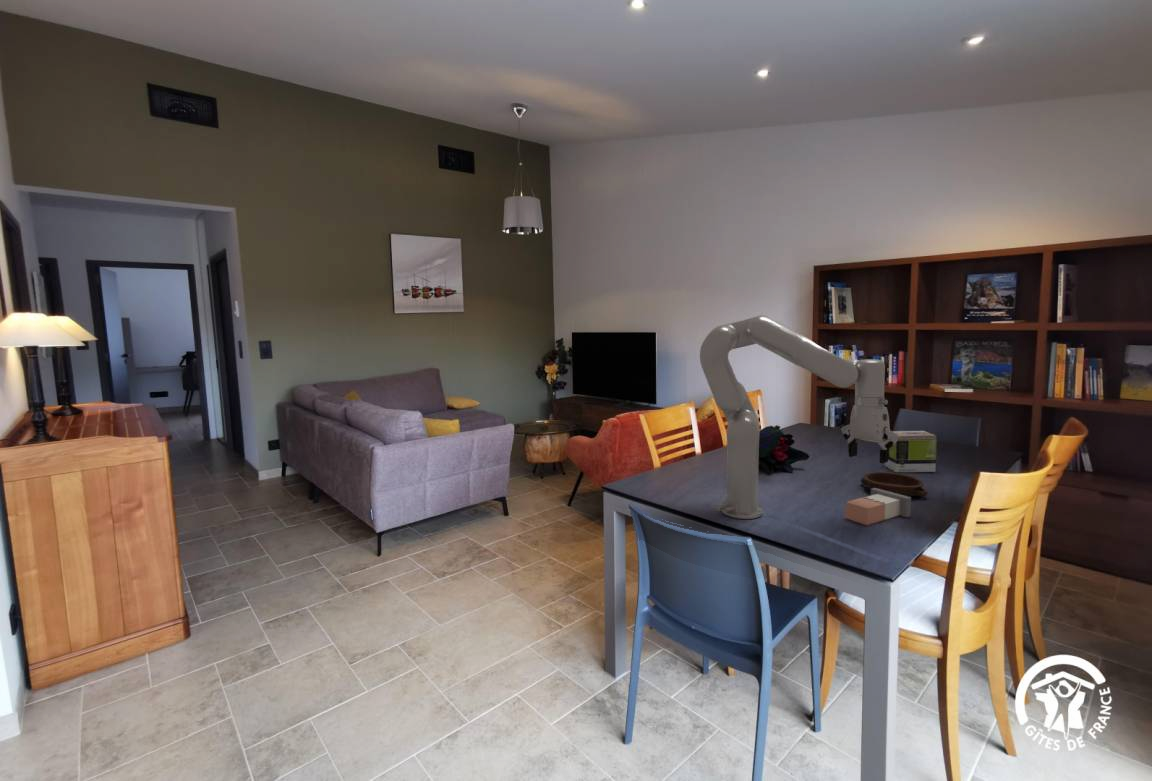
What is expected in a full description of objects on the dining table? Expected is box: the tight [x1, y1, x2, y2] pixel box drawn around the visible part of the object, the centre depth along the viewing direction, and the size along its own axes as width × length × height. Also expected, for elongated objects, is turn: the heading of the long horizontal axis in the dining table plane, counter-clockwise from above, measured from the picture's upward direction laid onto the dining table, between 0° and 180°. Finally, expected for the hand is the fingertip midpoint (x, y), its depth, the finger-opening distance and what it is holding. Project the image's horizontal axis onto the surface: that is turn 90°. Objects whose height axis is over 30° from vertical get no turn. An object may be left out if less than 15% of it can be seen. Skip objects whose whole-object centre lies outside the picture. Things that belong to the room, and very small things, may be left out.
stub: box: [844, 496, 885, 526], centre depth 170 cm, size 8×7×5 cm
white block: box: [864, 488, 912, 521], centre depth 175 cm, size 12×12×6 cm
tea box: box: [884, 430, 938, 473], centre depth 224 cm, size 15×10×15 cm, turn 84°
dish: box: [860, 471, 928, 497], centre depth 198 cm, size 18×22×5 cm
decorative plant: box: [758, 424, 810, 474], centre depth 226 cm, size 21×26×30 cm
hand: (868, 459), depth 168 cm, fingers open, 9 cm apart
